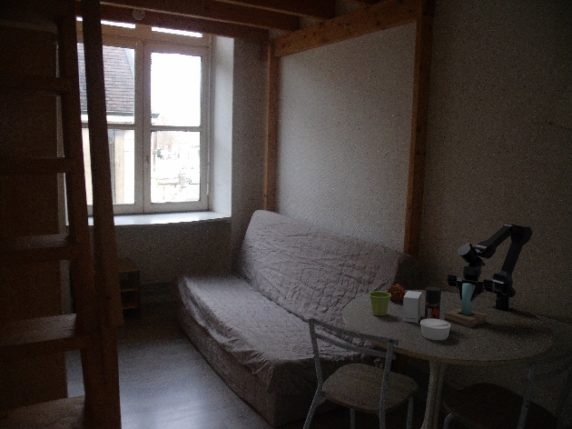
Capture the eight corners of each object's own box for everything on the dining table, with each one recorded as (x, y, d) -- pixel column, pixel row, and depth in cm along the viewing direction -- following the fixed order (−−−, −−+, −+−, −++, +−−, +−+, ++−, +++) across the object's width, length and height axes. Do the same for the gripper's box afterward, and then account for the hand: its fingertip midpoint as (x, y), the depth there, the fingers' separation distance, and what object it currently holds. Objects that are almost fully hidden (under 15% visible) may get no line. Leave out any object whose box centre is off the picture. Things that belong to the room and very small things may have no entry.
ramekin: (445, 344, 191) (446, 330, 190) (415, 337, 197) (416, 324, 196) (453, 335, 201) (454, 322, 200) (424, 329, 206) (425, 316, 206)
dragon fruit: (398, 307, 240) (390, 303, 251) (412, 296, 240) (404, 293, 252) (387, 292, 239) (380, 289, 251) (402, 281, 240) (394, 279, 252)
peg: (464, 312, 220) (466, 282, 219) (473, 315, 217) (474, 284, 215) (459, 314, 218) (460, 284, 216) (467, 317, 215) (469, 286, 213)
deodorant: (439, 323, 214) (441, 287, 212) (438, 328, 208) (440, 291, 206) (424, 321, 216) (426, 286, 214) (423, 326, 210) (425, 289, 208)
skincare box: (406, 313, 226) (407, 290, 225) (421, 315, 223) (422, 292, 222) (401, 321, 216) (403, 296, 215) (417, 323, 214) (419, 298, 212)
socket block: (461, 314, 226) (461, 307, 226) (486, 322, 217) (487, 315, 216) (444, 319, 219) (444, 312, 218) (469, 327, 209) (470, 320, 209)
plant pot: (365, 315, 222) (366, 295, 221) (370, 309, 231) (371, 290, 230) (387, 318, 219) (388, 298, 218) (392, 312, 228) (393, 292, 227)
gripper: (449, 255, 223) (440, 286, 215) (495, 261, 213) (487, 293, 205) (453, 270, 230) (444, 300, 222) (497, 276, 220) (490, 308, 212)
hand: (466, 300), depth 215 cm, fingers closed on peg, 4 cm apart
